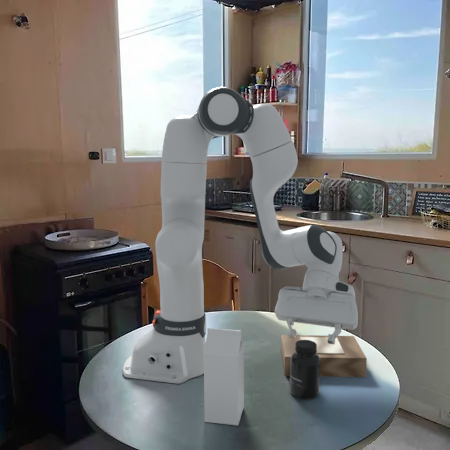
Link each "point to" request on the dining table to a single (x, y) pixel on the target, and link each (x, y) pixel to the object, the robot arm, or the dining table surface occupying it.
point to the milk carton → (223, 376)
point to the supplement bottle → (305, 370)
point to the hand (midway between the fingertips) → (311, 340)
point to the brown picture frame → (329, 355)
